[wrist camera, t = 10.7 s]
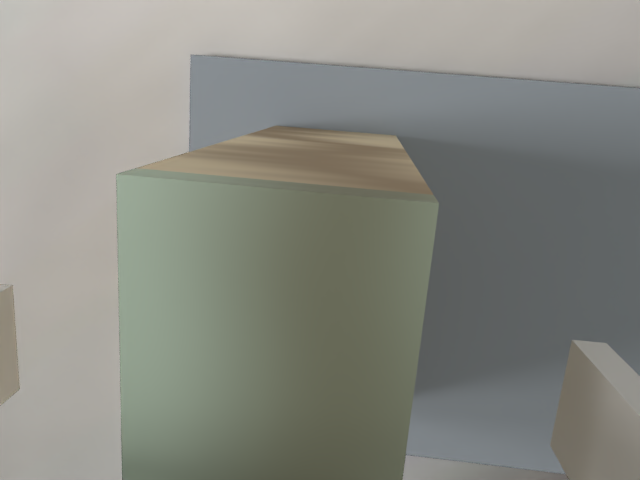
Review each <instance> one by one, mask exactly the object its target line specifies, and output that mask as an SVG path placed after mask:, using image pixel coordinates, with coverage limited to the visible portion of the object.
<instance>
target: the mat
mask: <svg viewBox="0 0 640 480" xmlns="http://www.w3.org/2000/svg"><path fill="white" fill-rule="evenodd" d="M273 126H287V127H299V128H311V129H323V130H335V131H347V132H360V133H372V134H384V135H396V137H397V138H398V140H399V141H400V143H401V144H402V146H403V148H404V149H405V151H406V152H407V154H408V155H409V157H410V158H411V160H412V162H413V163H414V165H415V166H416V168H417V169H418V171H419V173H420V174H421V176H422V177H423V179H424V180H425V182H426V184H427V185H428V187H429V188H430V190H431V191H432V193H433V195H434V196H435V198H436V199H437V201H438V202H439V208H438V216H437V223H436V231H435V238H434V246H433V253H432V261H431V268H430V276H429V283H428V291H427V298H426V306H425V313H424V321H423V328H422V336H421V343H420V351H419V358H418V366H417V373H416V380H415V388H414V395H413V403H412V410H411V418H410V425H409V433H408V440H407V448H406V455H411V456H419V457H428V458H436V459H444V460H452V461H461V462H469V463H477V464H485V465H494V466H502V467H510V468H518V469H527V470H535V471H543V472H551V473H560V474H566V473H565V472H564V470H563V468H562V466H561V464H560V463H559V461H558V459H557V457H556V455H555V454H554V452H553V450H552V448H551V446H550V443H551V438H552V433H553V428H554V423H555V419H556V414H557V409H558V404H559V399H560V395H561V390H562V385H563V380H564V375H565V370H566V366H567V361H568V356H569V351H570V346H571V342H572V340H580V341H590V342H601V343H607V344H608V345H609V346H610V347H611V348H612V349H613V350H614V351H615V352H616V353H617V354H618V355H619V356H620V357H621V358H622V359H623V360H624V361H625V362H626V363H627V364H628V365H629V366H630V367H631V368H632V369H633V370H634V371H635V372H636V373H637V374H638V375H639V376H640V88H631V87H617V86H604V85H591V84H577V83H564V82H550V81H537V80H524V79H510V78H497V77H483V76H470V75H457V74H443V73H430V72H417V71H403V70H390V69H376V68H363V67H350V66H336V65H323V64H310V63H296V62H283V61H269V60H256V59H243V58H229V57H216V56H202V55H191V67H190V137H189V152H191V151H194V150H197V149H201V148H204V147H207V146H211V145H214V144H217V143H220V142H224V141H227V140H230V139H234V138H237V137H240V136H243V135H247V134H250V133H253V132H256V131H260V130H263V129H266V128H270V127H273Z"/></svg>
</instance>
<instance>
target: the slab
mask: <svg viewBox="0 0 640 480" xmlns="http://www.w3.org/2000/svg"><path fill="white" fill-rule="evenodd" d="M116 186H117V237H118V288H119V339H120V390H121V442H122V480H402V478H403V470H404V463H405V455H406V448H407V440H408V433H409V425H410V418H411V410H412V403H413V395H414V388H415V380H416V373H417V366H418V358H419V351H420V343H421V336H422V328H423V321H424V313H425V306H426V298H427V291H428V283H429V276H430V268H431V261H432V253H433V246H434V238H435V231H436V223H437V216H438V208H439V202H438V201H437V199H436V198H435V196H434V195H433V193H432V191H431V190H430V188H429V187H428V185H427V184H426V182H425V180H424V179H423V177H422V176H421V174H420V173H419V171H418V169H417V168H416V166H415V165H414V163H413V162H412V160H411V158H410V157H409V155H408V154H407V152H406V151H405V149H404V148H403V146H402V144H401V143H400V141H399V140H398V138H397V137H396V135H384V134H372V133H360V132H347V131H335V130H323V129H311V128H299V127H287V126H273V127H270V128H266V129H263V130H260V131H256V132H253V133H250V134H247V135H243V136H240V137H237V138H234V139H230V140H227V141H224V142H220V143H217V144H214V145H211V146H207V147H204V148H201V149H197V150H194V151H191V152H188V153H184V154H181V155H178V156H174V157H171V158H168V159H165V160H161V161H158V162H155V163H152V164H148V165H145V166H142V167H138V168H135V169H132V170H129V171H125V172H122V173H119V174H116Z"/></svg>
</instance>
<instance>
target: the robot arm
mask: <svg viewBox="0 0 640 480" xmlns="http://www.w3.org/2000/svg"><path fill="white" fill-rule="evenodd" d="M19 389H20V386H19V371H18V357H17V342H16V328H15V313H14V298H13V285H4V284H0V405H2V404H3V403H4V402H5V401H6V400H7V399H9V398H10V397H11V396H12V395H13V394H14V393H16V392H17V391H18V390H19ZM550 446H551V448H552V450H553V452H554V454H555V455H556V457H557V459H558V461H559V463H560V464H561V466H562V468H563V470H564V472H565V473H566V475H567V477H568V479H569V480H640V376H639V375H638V374H637V373H636V372H635V371H634V370H633V369H632V368H631V367H630V366H629V365H628V364H627V363H626V362H625V361H624V360H623V359H622V358H621V357H620V356H619V355H618V354H617V353H616V352H615V351H614V350H613V349H612V348H611V347H610V346H609V345H608V344H607V343H601V342H590V341H580V340H572V342H571V346H570V351H569V356H568V361H567V366H566V370H565V375H564V380H563V385H562V390H561V395H560V399H559V404H558V409H557V414H556V419H555V423H554V428H553V433H552V438H551V443H550Z"/></svg>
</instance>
